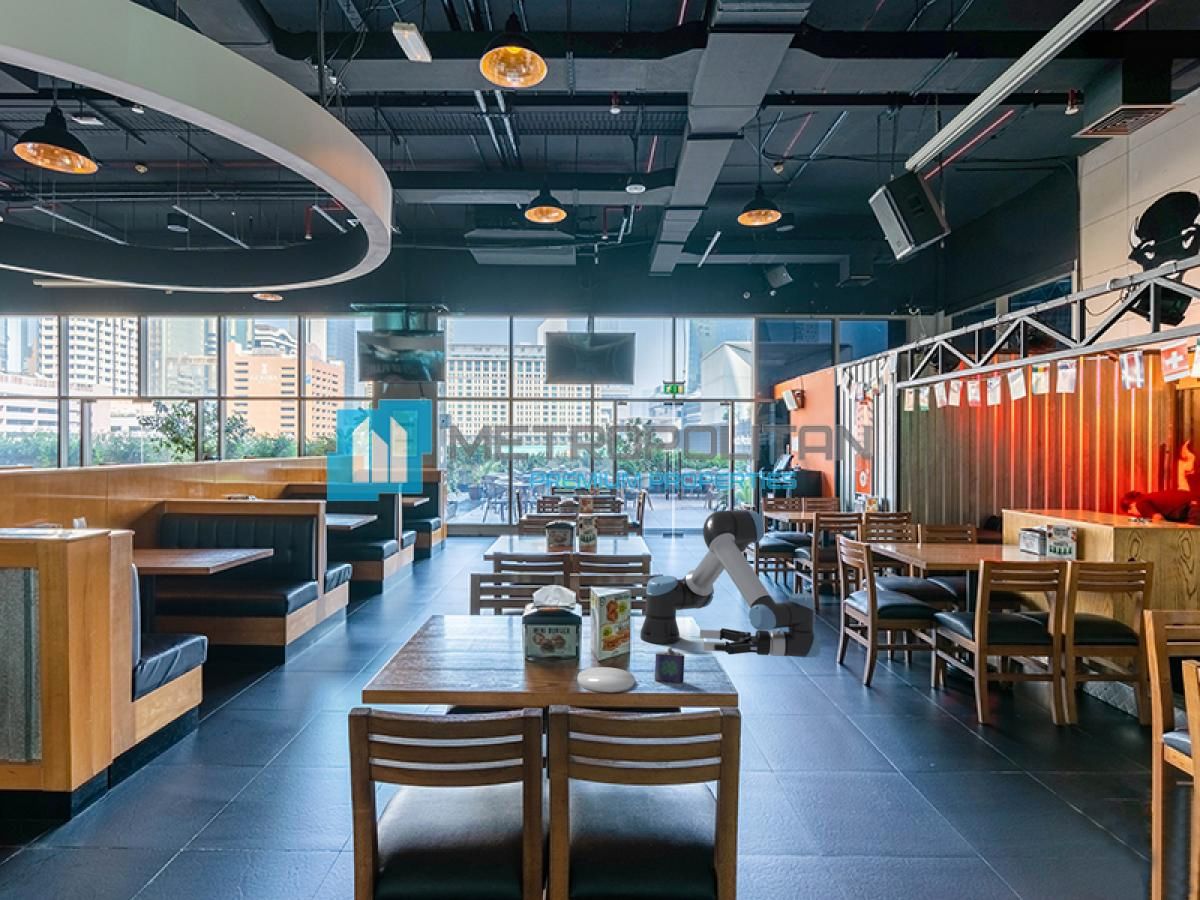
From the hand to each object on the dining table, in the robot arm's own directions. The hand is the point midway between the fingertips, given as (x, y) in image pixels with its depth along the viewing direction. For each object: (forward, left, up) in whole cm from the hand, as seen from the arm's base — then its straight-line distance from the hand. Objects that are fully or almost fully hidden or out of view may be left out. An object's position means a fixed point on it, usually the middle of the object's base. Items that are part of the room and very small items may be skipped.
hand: (701, 639), depth 220 cm
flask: (0, -10, -14) cm, 17 cm away
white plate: (+4, -30, -14) cm, 33 cm away
